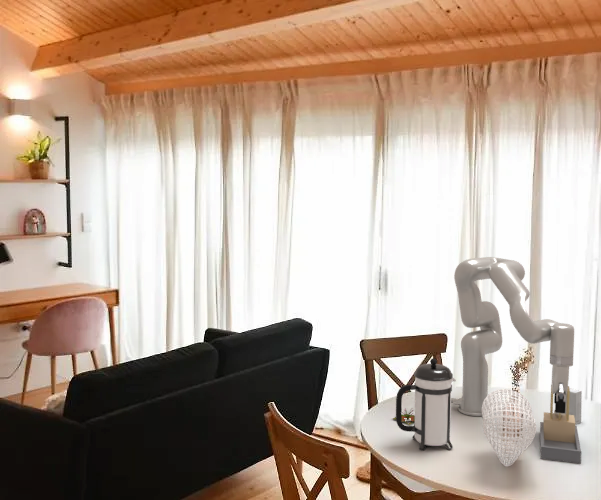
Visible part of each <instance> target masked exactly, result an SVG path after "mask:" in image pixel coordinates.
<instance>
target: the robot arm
mask: <svg viewBox="0 0 601 500" xmlns="http://www.w3.org/2000/svg"><path fill="white" fill-rule="evenodd" d="M525 272H526V271H525V268H524V265H522V264H521V262H519V261H517V260H512V259H506V258H499V257H495V256H486V257H474V258H469V259H465V260H462V261H461V262H459V263H458V265H457V266H456V268H455V270H454V277H453V278H454V283H455V287H456V291H457V296H458V305H459V311H460V318H461V322H462V324H463V325H464V327H466V328H469V329H474V328H479V330H475V331H474V330H473V331H470V332H467V333H466V334H465V335H464V336H463V337H461V341H460V349H461V355H462V392H461V393H462V395H461V397H459V398H454V397H451V404H453V405H455V406H457V411H458V412H460V413H461V414H464V415H465V416H466V415H467V416H472V417H483V416H482V404H483V401H484V399H485V398H486V397H487V396H488V395H489V394H488V393H489V391H488V390H489V387H488V386H489V385H488V384H489V365H488V364H489V363H488V361H487V359H486V355H489V354H493V353H496V352H498V351H500V349H501V348H502V347H503V334H502V327H501V326H502V325H501V320H500V314H499V311H498V308H497V307H496V306H495V304H494V303H493V302H491V301H485V300H482V296H481V290H480V288H479V286H478V284H477V283H476V281H480V280H481V281H482V280H483V281H484V280H489V279H490V280H491V282H492V283H493V284H494V286H495V288H496V289H497V290H498V292H499V293H500V294H501V295H502V297H503V299H505V301H506V302H507V304H508V307H509V317H510V320H511V323H512V325H513V327H514V328H515V329H516V331H517V332H518V334H519V335H520V337H521V338H522V339H523V340H524V341H525V342H527V343H530V344H535V345H536V344H539V343H543V342H549V341H550V343H549V345H550V347H549V364H550V365H552V367H551V385H552V393H553V404H554V411H555V412H556V413H565V406H566V402H565V395H566V394H567V390H568V386H569V379H570V378H569V377H570V367H572V366H574V349H575V346H574V345H575V328H574V326H573V325H572V324H569V323H563V322H558V321H555V320H553V319H548V318H544V319H539V320H533V319H532V318H531V316H530V315H529V313H528V312H527V309H526V306H525V305H526V301H527V300H528V299H529V298H530V295H531V293H530V291H529V289H528V288H527V287H526V285H525V284H524V283H523V280H524V278H525V275H526V273H525ZM485 402H486V401H485ZM485 405H486V404H485ZM488 408H489V407H488ZM485 410H486V409H485ZM489 413H490V412H489Z"/></svg>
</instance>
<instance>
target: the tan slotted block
mask: <svg viewBox="0 0 601 500" xmlns="http://www.w3.org/2000/svg"><path fill="white" fill-rule="evenodd" d="M569 388H570V386H569V385H568V390H567V402H566V419H567V421H569V399H570V389H569ZM553 405H554V394H553V393H552V384H550V405H549V406H550V408H549V411H550V412H549V413H550V417H551V418H550V419H552V416H553V413H554V406H553ZM560 419H561V413H559V420H560Z"/></svg>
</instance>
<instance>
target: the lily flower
mask: <svg viewBox="0 0 601 500" xmlns="http://www.w3.org/2000/svg"><path fill="white" fill-rule="evenodd" d="M413 411H414V409H413V410H412V409H411V410H410V411H409V412H408V411H407V408H404V411H403V412H402V413H401V420H402V423H405V424H407V426H411V425H412V424H414V423H415V414H414V412H413ZM404 418H407V419H404ZM409 418H411V420H410V419H409ZM392 420H396V416H395V417H393V418H392ZM405 420H406V422H405ZM408 421H409V422H410V423H409V422H408ZM411 421H412V422H411ZM407 422H408V423H409V424H408V423H407Z"/></svg>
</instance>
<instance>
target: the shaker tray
mask: <svg viewBox="0 0 601 500" xmlns="http://www.w3.org/2000/svg"><path fill="white" fill-rule="evenodd" d="M550 418H551V417H550V412H545V411H543V418H542V419H543V420H542V421H541V422H540V423H539V424H540V425H539V426H540V427H539V439H540V440H539V442H540V443H539V445H540V446H539V447H540V448H539V450H540V451H539V452H540V459H542V460H548V461H549V460H550V461H557V462H564V463H572V464H579V465H580V464H581V463H582V462H581V461H582V459H581V458H582V449H581V444H580V442H581V441H580V438H579V432H578V428H577V427H578V426H577V425H576V424H575V418H574V415H569V421H567V419H566V414H564V416H563V417H562V418H561V419H560V420H559V418H558V417H556V416H555V414H554V412H553V416H552V419H550Z"/></svg>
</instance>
